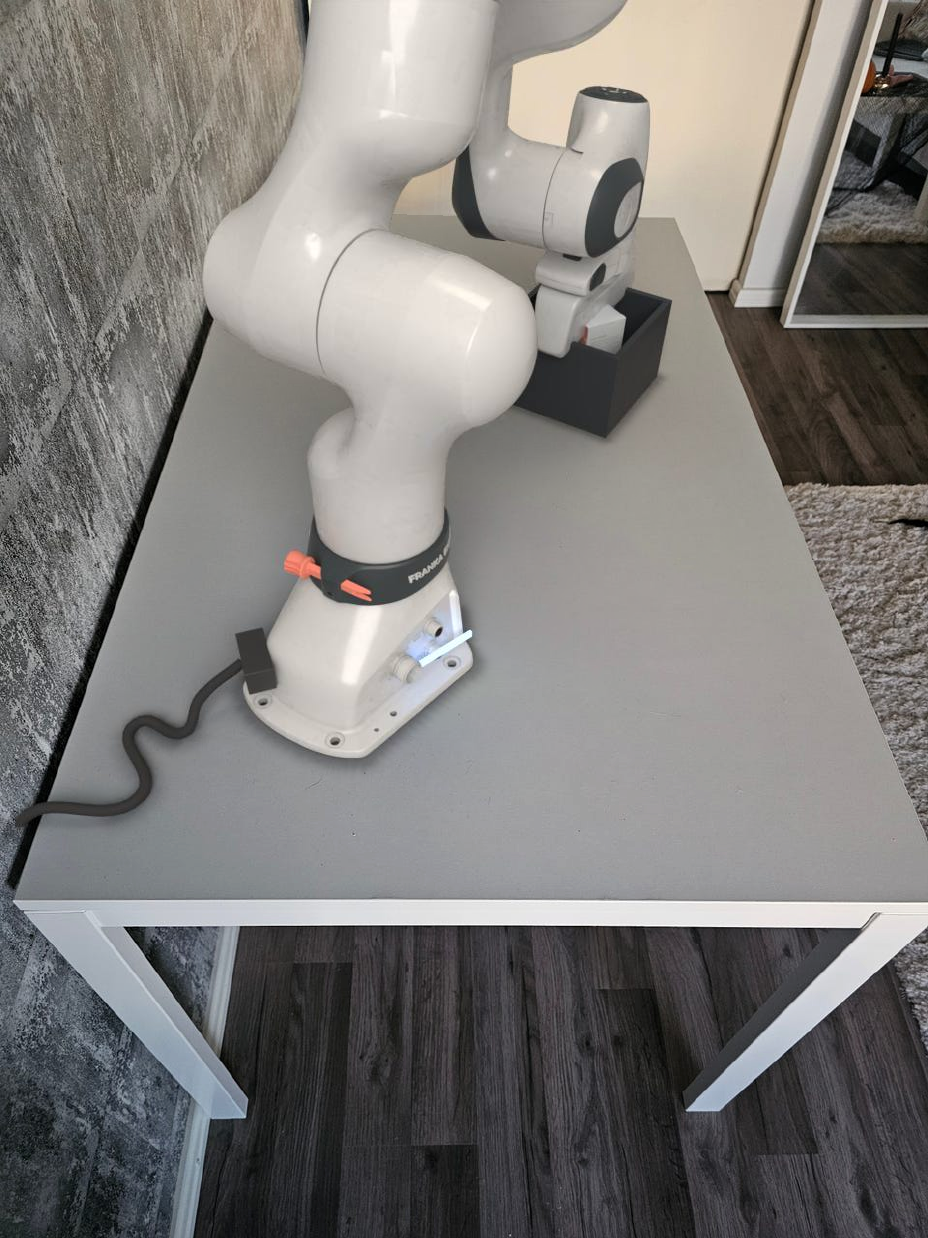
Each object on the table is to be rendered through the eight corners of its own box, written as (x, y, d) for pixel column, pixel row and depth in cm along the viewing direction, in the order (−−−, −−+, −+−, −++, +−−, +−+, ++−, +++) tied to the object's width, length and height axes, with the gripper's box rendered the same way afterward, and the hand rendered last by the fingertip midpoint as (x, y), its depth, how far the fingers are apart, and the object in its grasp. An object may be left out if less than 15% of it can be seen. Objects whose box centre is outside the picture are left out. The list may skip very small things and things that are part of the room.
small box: (543, 372, 117) (550, 296, 110) (579, 361, 119) (589, 285, 111) (577, 404, 113) (587, 327, 105) (614, 392, 115) (627, 316, 107)
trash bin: (605, 438, 110) (618, 359, 102) (494, 397, 115) (497, 319, 107) (657, 376, 119) (672, 299, 111) (551, 342, 124) (558, 266, 116)
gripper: (609, 204, 110) (595, 310, 120) (527, 273, 98) (519, 384, 108) (657, 217, 108) (639, 324, 118) (579, 289, 96) (566, 400, 106)
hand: (581, 353), depth 113 cm, fingers closed on small box, 7 cm apart
